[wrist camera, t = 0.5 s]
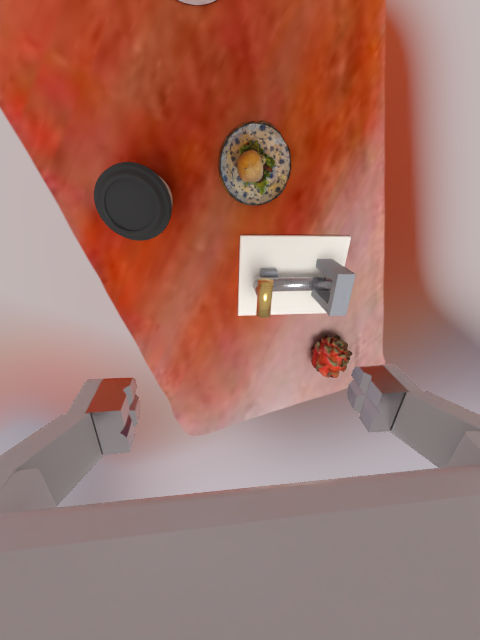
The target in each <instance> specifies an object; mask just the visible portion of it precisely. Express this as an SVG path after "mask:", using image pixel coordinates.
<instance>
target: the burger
mask: <svg viewBox="0 0 480 640" xmlns="http://www.w3.org/2000/svg"><path fill="white" fill-rule="evenodd" d="M218 169H219V176H220V179H221V182H222V184H223V186H224V188H225V190H226V191H227V192H228V193H229V195H230V196H231V197H233V198H234V199H235V200H237V201H238V202H240V203H243V204H246V205H253V206H254V205H262V204H265V203H268V202H270V201H272V200H273V199H275V198H277V197H278V196H279V195H280V194H281V193H282V191H283V190H284V188H285V186H286V183H287V181H288V179H289V176H290V170H291V157H290V150H289V147H288V146H287V144H286V142H285V141H284V139H283V137H282V135H281V134H280V132H279V131H277V130H276V128H275V126H273V125H272V124H270V123H268V122H265V121H260V122H250V123H243V124H241V125H239V126H238V127H237V128H235V129H234V130H233V131H232V132H231V133H230V134H229V135H228V136H227V138H226V139H225V141H224V143H223V145H222V147H221V150H220V154H219V159H218Z"/></svg>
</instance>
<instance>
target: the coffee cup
mask: <svg viewBox="0 0 480 640" xmlns="http://www.w3.org/2000/svg"><path fill="white" fill-rule="evenodd" d="M94 201H95V205H96V208H97V211H98V213H99V215H100V217H101V218H102V220H103V221H104V222H105V224H106V225H107V226H108V227H109V228H110V229H112V230H113V231H114V232H116V233H117V234H119V235H121V236H123V237H125V238H128V239H132V240H148V239H151V238H154V237H156V236H157V235H159V234H160V233H161V232H162V231H163V230H164V229H165V228H166V226H167V225H168V223H169V220H170V217H171V212H172V204H173V200H172V193H171V190H170V188H169V186H168V185H167V184H166V182H165V181H164V180H163V179H162V178H161V177H160V176H158V175H157V174H156V173H155V172H153V171H152V170H151V169H149V168H148V167H146V166H143V165H141V164H138V163H133V162H122V163H118V164H115V165H113V166H111V167H109V168H108V169H107V170H105V171H104V172H103V173H102V174H101V175H100V177H99V178H98V180H97V182H96V185H95V189H94Z"/></svg>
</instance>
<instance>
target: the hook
mask: <svg viewBox="0 0 480 640" xmlns="http://www.w3.org/2000/svg"><path fill="white" fill-rule="evenodd" d="M332 282H333V281H332V280H331V279H330V278H329V277H260V278H257V280H255V281H254V282H253V288H254V291H255V293H256V295H257V308H256V315H257V316H259V317H263V318H265V317H269V316H270V314H271V303H272V292H277V291H331V287H332Z"/></svg>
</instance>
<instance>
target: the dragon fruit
mask: <svg viewBox="0 0 480 640" xmlns="http://www.w3.org/2000/svg"><path fill="white" fill-rule="evenodd" d="M347 347H348V344H347V343H346V342H344V341H342V340H341V339H340V337H339V336H338V335H336V336H332V337H328V335H327V334H325V335H323V336H322V338H321V343H320V342H319V341H317V342H316V344H315V347H314V348H312V349H311V351H312V352H313V357H312V365H313V367H314V368H316V369H317V371H319V372H320V373H321V374H322V375H323V376H325V377H328V378H329V377H332V378H333V377H334V378H337V377H338V374H339V371H340V370H341V371H343V372H344V371H345V370H346V368H347V365H346V364H348V362H349V360H350V356H351V355H352V352H350V351H348V350H347ZM331 375H332V376H331Z"/></svg>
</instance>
